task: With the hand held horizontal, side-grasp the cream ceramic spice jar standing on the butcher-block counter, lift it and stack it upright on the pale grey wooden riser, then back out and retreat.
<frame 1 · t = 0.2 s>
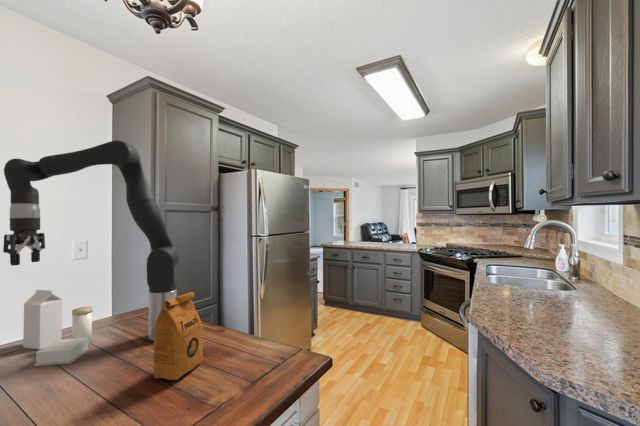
hand: (25, 263, 101), 28 cm above the countertop, tool pointing down, fingers open, 8 cm apart
jar: (81, 343, 103), on the countertop
milk carton: (42, 345, 102), on the countertop
coffee package: (179, 371, 85), on the countertop
riser: (63, 357, 93), on the countertop
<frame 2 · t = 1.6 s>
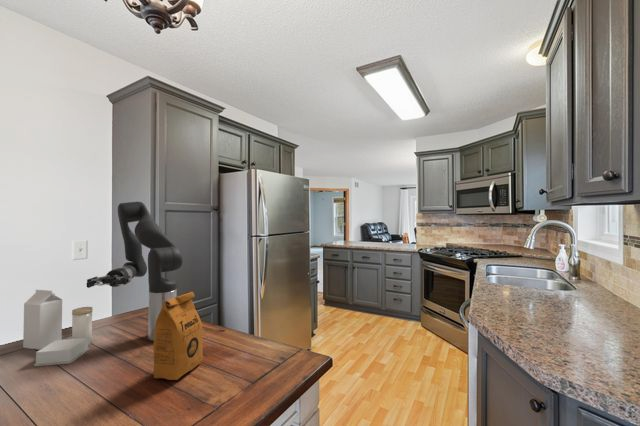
hand: (100, 284, 115), 18 cm above the countertop, tool horizontal, fingers open, 8 cm apart
nothing on the countertop moved.
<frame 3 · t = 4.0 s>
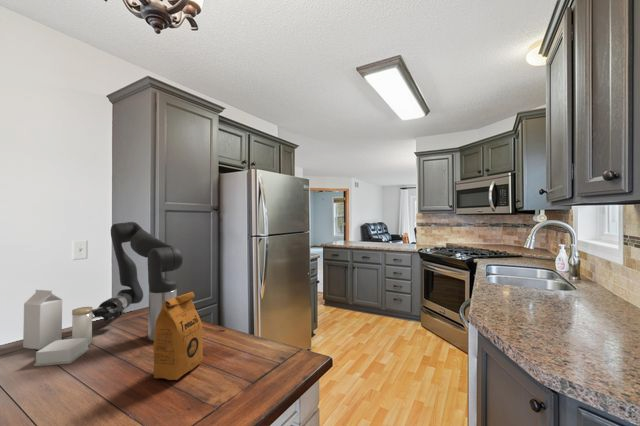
hand: (91, 319, 108), 7 cm above the countertop, tool horizontal, fingers open, 8 cm apart
nothing on the countertop moved.
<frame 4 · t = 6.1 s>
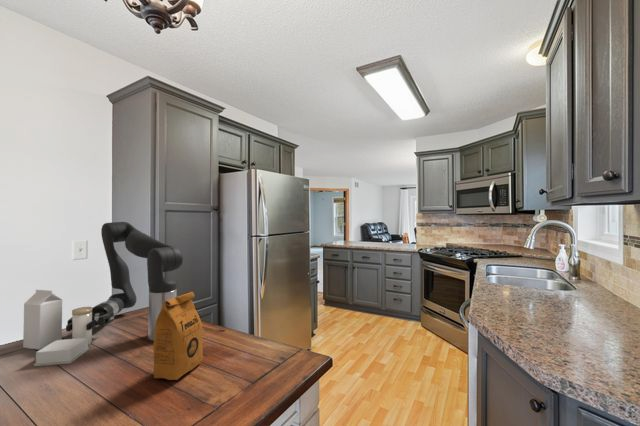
hand: (77, 327, 100), 7 cm above the countertop, tool horizontal, fingers closed on jar, 5 cm apart
jar: (81, 343, 103), on the countertop, touching gripper
everything else where it was.
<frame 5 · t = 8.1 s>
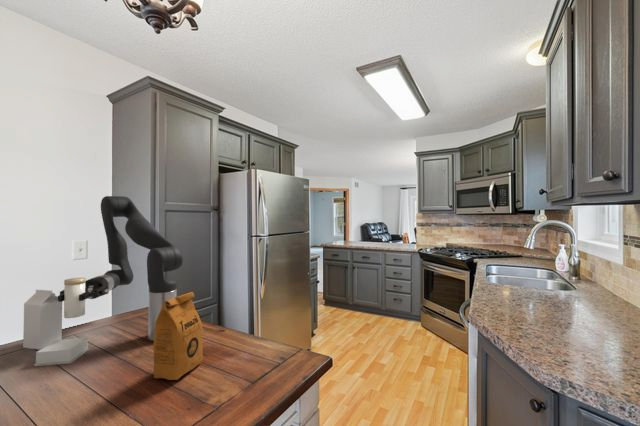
hand: (70, 298, 96), 18 cm above the countertop, tool horizontal, fingers closed on jar, 5 cm apart
jar: (74, 315, 99), point 11 cm above the countertop, touching gripper
everything else where it was.
when the fingers open (12 cm above the countertop, at t = 10.2 s): jar drops 1 cm, resting on riser.
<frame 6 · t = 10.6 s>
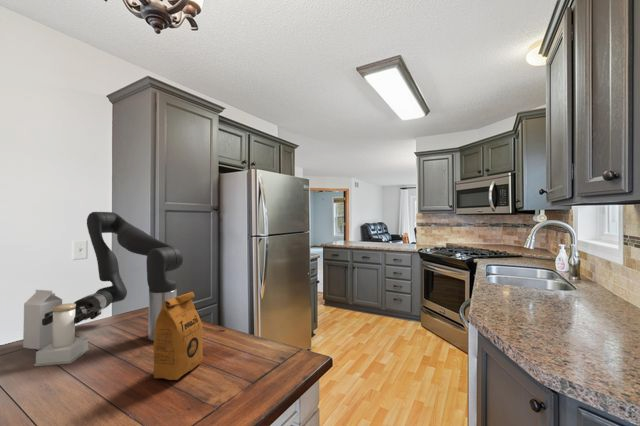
hand: (59, 321, 91), 12 cm above the countertop, tool horizontal, fingers open, 8 cm apart
jar: (63, 344, 93), point 4 cm above the countertop, touching riser
everything else where it was.
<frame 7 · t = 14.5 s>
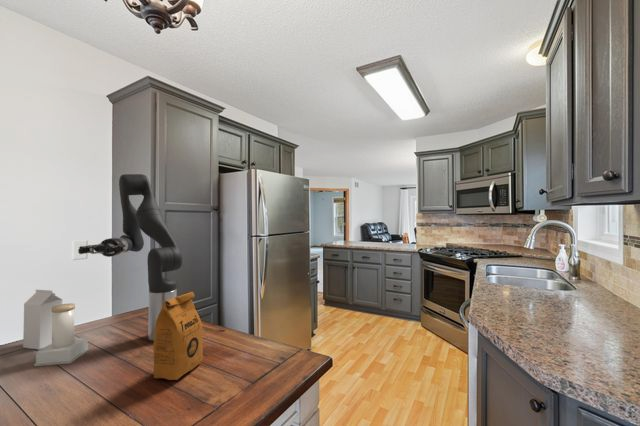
hand: (93, 251, 109), 32 cm above the countertop, tool horizontal, fingers open, 8 cm apart
nothing on the countertop moved.
at the end: jar inside the target area on the riser (0.1 cm from its centre), point 4.1 cm above the riser's base; jar tilted 1°; the gripper is holding nothing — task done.
